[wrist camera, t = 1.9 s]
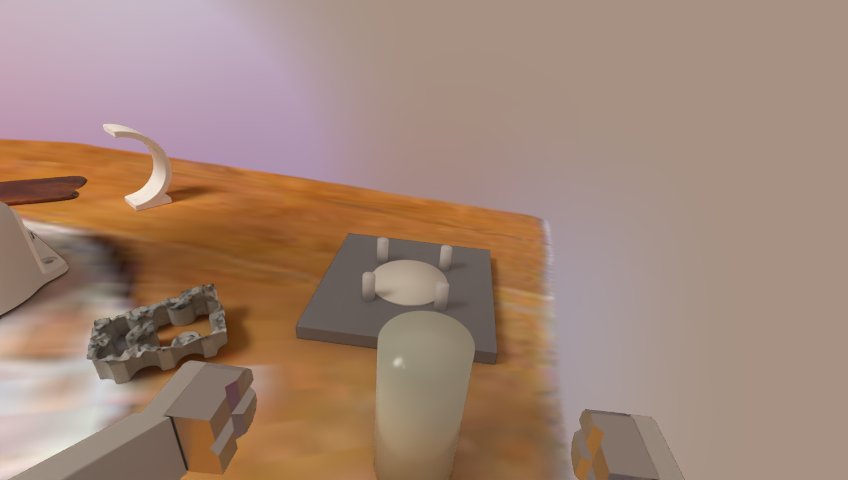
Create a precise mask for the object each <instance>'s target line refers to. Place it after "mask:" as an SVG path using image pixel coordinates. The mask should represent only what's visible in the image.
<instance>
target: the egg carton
mask: <svg viewBox="0 0 848 480" xmlns="http://www.w3.org/2000/svg"><path fill="white" fill-rule="evenodd" d="M204 314H208V315H209V321H210V325H211V330H212V333H211V334H210V335H208V336H200V334H199V333H197V332H195V331H189V332H184V333H182V334H180V335H178V336H177V337H176V338H175V339H174V340H173V341H172V345H171V346H169V347H160V342H159V339H158V335H157V332H156V330H157V329H158V327H159V326H163V325H165V324H168V323H171V324H172V325H174V326H185V325H188V324H190V323H192V322H194V320H195V319H196V317H197V316H200V315H204ZM224 317H225V311H224V309H223V307H222V306H221V304H220V302H219V299H218V295H217V291H216V287H214V284H209V285H207V286H204V285H201V286H198V287H196V288H190V289H188V290H186V291H182V292H181V295H180V297H178V298H167V299H164V300H163V301H162V302H160V303H157V304H154V305H151V306H143V307H139V308H137V309H134V310H131V311H129V312H127V313H125V314H123V315H118V316H116V317H115V318H114V319H113V320H110V318H104V319H99V320H97V321H94V328H93V329H92V337H91V338H90V343H89V345H88V355H87V359H90V360H92V361H93V363H94V365H95V367H96V370H97V372H98V375H99V377H100V379H113V380H114V381H115V382H116V384H120V383H124V382H127V381H130V380H131V378H132V376H133V375H134V374H135V373H136V372H137V371H138V370H140V369H141V368H144V367H147V366H158V367H160V368H161V369H162V371H164V370H168V369H171V368H174V367H176V365H177V362H178V361H179V360H180V359H181V358H182V357H184V356H186V355H189V354H194V353H198V354H202V355H203V356H204V357H205V358H208V357H212V356H215V355H217V351H218V349H219V348H220V347H221V346H223V345H224V344H226V343H227V342H228V339H227V334H226V331H227V329H226V326H225V319H224ZM127 333H128V334H127ZM123 334H127V335H126V337H125V339H126V342H127V344H128V347H129V349H128V350H127V349H125V351H124V353H123V354H122V356H120V357H118V356H117V354H116V351H115V349H114V347H113V342H115V341H116V340H117V338H118V337H119V336H120V335H123ZM160 349H161V350H160Z"/></svg>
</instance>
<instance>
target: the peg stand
mask: <svg viewBox="0 0 848 480" xmlns="http://www.w3.org/2000/svg"><path fill="white" fill-rule="evenodd" d="M412 311H432V312H437V313H441V314H444V315H447V316H449V317H451V318H454V319H455V320H457V321H458V322H460V323H461V324H462V325H463V326H465V327H466V328H467V330H468V331H469V332H470V334H471V336H472V338H473V340H474V344H475V353H474V359H473V362H480V363H488V364H495V362H496V358H497V340H496V327H495V314H494V301H493V288H492V275H491V262H490V250H484V249H476V248H467V247H459V246H451V245H442V244H434V243H426V242H418V241H409V240H401V239H393V238H385V237H376V236H368V235H360V234H352V233H348V235H347V237H346V239H345V241H344V242H343V244H342V246H341V248H340V249H339V251H338V253H337V255H336V256H335V258H334V260H333V262H332V263H331V265H330V267H329V269H328V270H327V272H326V274H325V276H324V278H323V279H322V281H321V283H320V285H319V286H318V288H317V290H316V292H315V293H314V295H313V297H312V299H311V300H310V302H309V304H308V306H307V307H306V309H305V311H304V313H303V315H302V316H301V318H300V320H299V322H298V323H297V325H296V334H297V338H303V339H310V340H317V341H325V342H332V343H340V344H347V345H354V346H362V347H369V348H377V346H378V336H379V333H380V331H381V329H382V328H383V326H384V325H385V324H386V323H387V322H388V321H389V320H391V319H392V318H394V317H396V316H398V315H400V314H403V313H407V312H412Z"/></svg>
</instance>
